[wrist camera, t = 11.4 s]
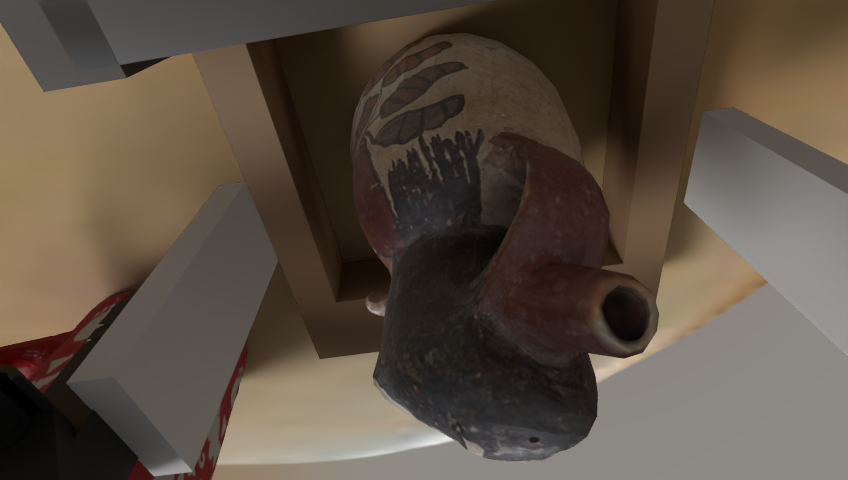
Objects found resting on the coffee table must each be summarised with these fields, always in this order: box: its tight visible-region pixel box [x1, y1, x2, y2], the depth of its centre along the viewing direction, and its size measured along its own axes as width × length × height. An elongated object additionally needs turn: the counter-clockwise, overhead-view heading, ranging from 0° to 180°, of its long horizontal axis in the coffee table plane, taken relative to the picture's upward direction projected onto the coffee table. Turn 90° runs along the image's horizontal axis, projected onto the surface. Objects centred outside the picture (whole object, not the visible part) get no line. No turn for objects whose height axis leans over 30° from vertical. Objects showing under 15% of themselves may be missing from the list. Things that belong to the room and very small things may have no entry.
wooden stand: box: [0, 0, 715, 359], centre depth 12 cm, size 18×14×8 cm
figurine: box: [350, 33, 659, 464], centre depth 11 cm, size 7×7×12 cm
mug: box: [0, 291, 247, 480], centre depth 15 cm, size 13×9×14 cm
